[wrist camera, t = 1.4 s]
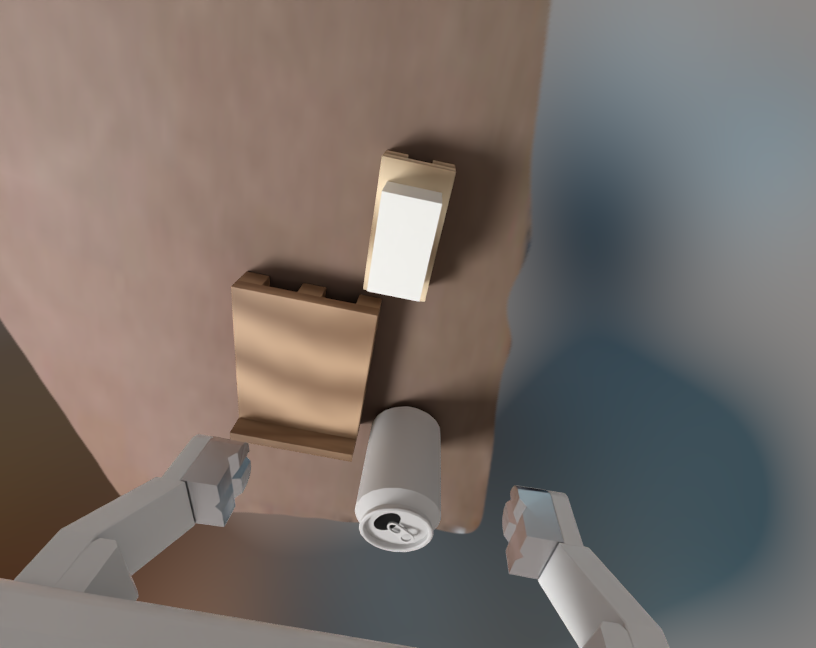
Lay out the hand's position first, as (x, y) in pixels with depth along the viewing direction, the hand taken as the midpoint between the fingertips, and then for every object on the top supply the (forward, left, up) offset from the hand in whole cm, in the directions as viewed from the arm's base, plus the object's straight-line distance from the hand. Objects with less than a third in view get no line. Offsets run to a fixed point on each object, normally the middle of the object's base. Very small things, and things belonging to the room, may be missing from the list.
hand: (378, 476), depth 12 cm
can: (+21, +3, -23) cm, 31 cm away
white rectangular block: (-1, -1, -20) cm, 20 cm away
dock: (+14, -8, -22) cm, 28 cm away
